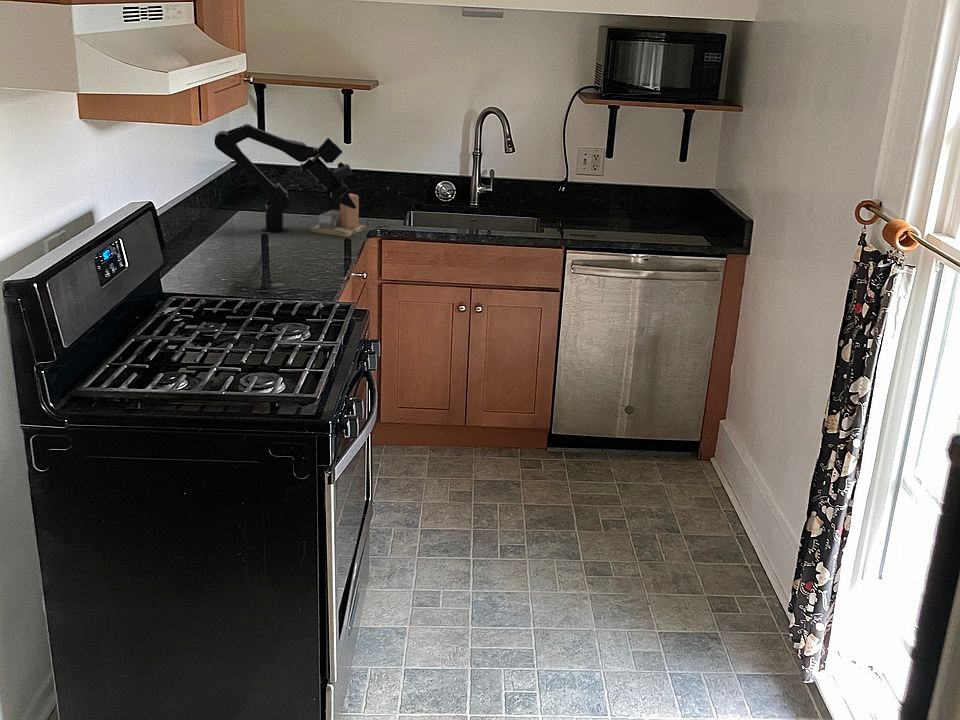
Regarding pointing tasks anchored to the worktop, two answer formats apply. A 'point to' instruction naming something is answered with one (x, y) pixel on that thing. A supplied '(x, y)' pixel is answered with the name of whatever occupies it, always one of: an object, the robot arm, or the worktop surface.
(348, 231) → the maple board
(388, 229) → the worktop surface
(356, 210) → the terracotta block
